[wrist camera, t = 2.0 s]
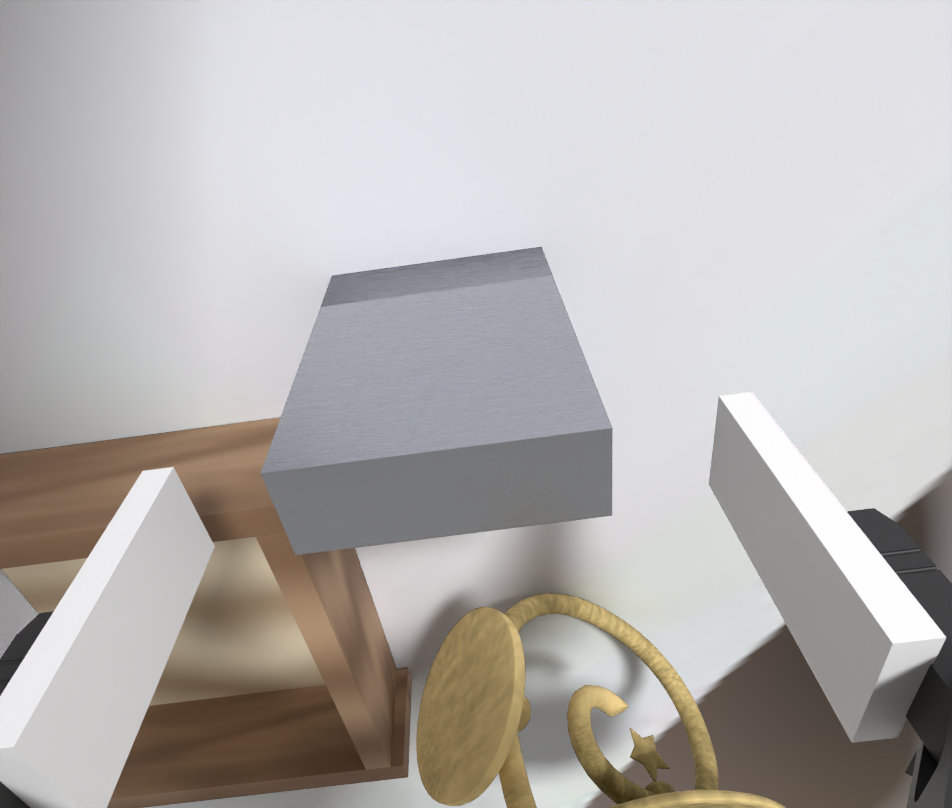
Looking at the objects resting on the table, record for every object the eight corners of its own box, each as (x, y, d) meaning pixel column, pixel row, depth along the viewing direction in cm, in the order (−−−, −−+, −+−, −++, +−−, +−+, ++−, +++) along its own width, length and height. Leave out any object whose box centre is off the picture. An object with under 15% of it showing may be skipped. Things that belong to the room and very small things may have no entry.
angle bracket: (332, 275, 20) (260, 473, 12) (541, 246, 20) (612, 428, 12) (387, 477, 25) (363, 713, 17) (554, 456, 25) (611, 683, 17)
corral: (-91, 466, 24) (-202, 567, 20) (323, 411, 23) (299, 503, 19) (122, 714, 34) (79, 814, 30) (411, 680, 34) (408, 777, 30)
